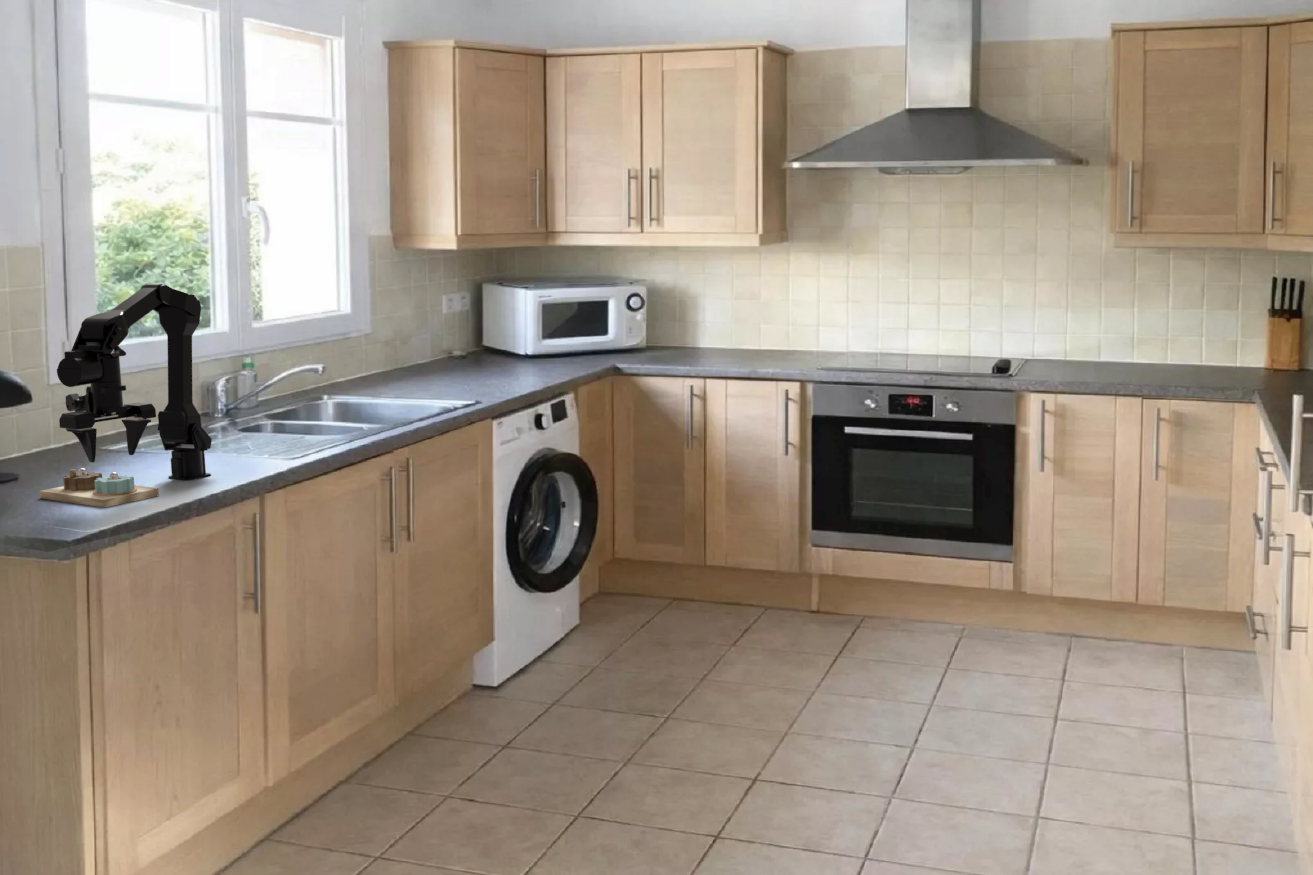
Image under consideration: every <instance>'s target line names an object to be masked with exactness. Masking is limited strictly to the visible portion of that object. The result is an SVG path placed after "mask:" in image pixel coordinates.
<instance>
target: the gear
mask: <svg viewBox="0 0 1313 875" xmlns="http://www.w3.org/2000/svg"><path fill="white" fill-rule="evenodd" d="M68 470H69V471H68V472H69V474H66V475H64V476H63V477H62V478H63V480H62V481H63V486H64V489H65V490H71V491H77V490H91V489H94V488H95V480H96V479H97V478H103V473H102V472H95V471H90V472H87V476H83V477H78V472H77V469H75V468H74V469H68Z"/></svg>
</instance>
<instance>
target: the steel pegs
mask: <svg viewBox="0 0 1313 875" xmlns="http://www.w3.org/2000/svg"><path fill="white" fill-rule="evenodd" d="M77 473H78V477H83V476H87V473H88V472H87V470H86V468H84V467H82V468H80V469H78V471H77ZM109 476H110V480H117V479H118V476H119V474H118V473H117V472H114V471H113V472H111V473H109Z"/></svg>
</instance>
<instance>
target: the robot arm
mask: <svg viewBox="0 0 1313 875" xmlns="http://www.w3.org/2000/svg"><path fill="white" fill-rule="evenodd" d="M152 311H154V312H155V313H157V314H158V319H159V324H160V326H161V327H162V329H163V331H164V332H165V334H166V337H167V404H166V406H165V408H164V409H163V410H159V411H158V414H157V412H156V411H157V410H156V407H155V406H154V405H153V403H148V402H147V403H146V402H133V403H126V404H124V399H123V391H127V386H126V384H122V376H121V362H120V358H121V357H124V356H125V357H126V356H127V352H126V351H125V350H124V349H122V348H121V346H119V345H120V344H122V342H123V341H124V340H125V339H126V338H127V337H128V336H129V329H130V328H131V327H132V326H133V325H134V324H136V323H137V322H138V321H140V320H141V319H143V318H144V317H146V316H147V315H148V314H149V313H151V312H152ZM201 311H202V304H201V301H200V300H199V299H198V298H197V296H196V295H194V294H192V293H187V292H185V291H184V292H183V291H182V290H178V289H175V288H172V287H170V286H169V285H167V284H164V283H146V284H143V285H142V286H141V287H140V289H139V290H137V291H136V292H135V293H133V294H132V295H130V296H129V297H128V298H126V299H125V300H124V301H122V302H121V303H119V304H117V305H116V306H115V307H114V308H112V309H111V310H109V311H104V312H100V313H97V314H93V315H90V316H89V317H86V318H85V319H83V321H82V322H81V323H80V325H81V326H80V328H79V331H78V333H77V335H76V338H75V341H74V342H73V343H74V344H73V346H72V347H71V350H67V351H64V354H63V355H64V358H62V359H61V360H60V361H59V363H58V366H57V368H56V374H57V378H58V379H59V381H60V383H61V384H62V385H64V386H65V387H69V388H74V387H79V386H84V385H88V386H86V388H85V392H86V393H85V395H79V394H78V393H71V394H69V393H68V394H67V395H66V396H65V407H66V410H67V411H68V412H63V413H61V415H60V417H59V420H58V422H59V428H60V429H65V430H66V431H67V432H69V433H72V434H73V435H74V436H75V437H76V438H77V440H78V441H79V444H81V446H82V448H83V451H84V453H85V456H86V458H87V459H88V461H89V462H90V463H95V460H96V456H97V455H96V453H97V451H96V450H97V433H98V432H97V430H98V429H97V428H93V427H94V425H95V424H96V423H100V422H107V421H113V420H119V419H121V422H122V424H123V425H124V428H125V433H126V434H125V435H126V447H127V452H128V455H129V456H133V455H135V452H136V451H137V448H138V445H139V443H140V441H141V438H142V436H143V434H144V431H145V429H146V428H147V427H148V424H149V423H152V419H153V418H156V417H157V419H158V423H157V424H158V426H157V428H156V429H157V431H158V433H159V437H160V440H161V443H162V446H163V448H164V451H171V457H170V468H171V469H170V472H171V475H168V476H167V477H168V479H171V480H179V481H193V480H198V479H202V478H207V477H211V476H212V473H208V472H207V470H206V469H207V468H206V456H205V451H208V450H210V449H211V447H212V446H211V445H212V437H211V436H210V435H209V433H208V432H207V431H206V430H205V429H204V428H203V427H202V421H201V415H200V412H198V409H197V408H196V406H195V405H194V402H193V335H194V333H195V331H196V330H197V328H198V326H199V325H200V321H201V313H202V312H201ZM89 385H90V386H89Z"/></svg>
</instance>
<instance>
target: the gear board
mask: <svg viewBox="0 0 1313 875" xmlns="http://www.w3.org/2000/svg"><path fill="white" fill-rule="evenodd" d="M134 488H135V489H133V491H131V492H123V493H121V494H103V493H98V494H97V493H96V492H95V488H94V489H91V490H77V491H71V490H65V489H64V485H63V486H58V487H53V488H47V489H43V490H39V492H40V493H39V494H40V499H45V500H51V501H58V502H63V503H71V504H77V505H83V506H84V505H85V506H90V507H91V506H93V507H98V508H99V507H100V508H108V507H114V506H116V505H117V506H118V505H122V504H126V503H130V502H131V503H132V502H136V501H140V500H145V499H149V498H153V497H158V496H160V493H159V492H160V491H159V490H160V489H159V487H153V486H152V487H150V486H143V485H135V484H134Z"/></svg>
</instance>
